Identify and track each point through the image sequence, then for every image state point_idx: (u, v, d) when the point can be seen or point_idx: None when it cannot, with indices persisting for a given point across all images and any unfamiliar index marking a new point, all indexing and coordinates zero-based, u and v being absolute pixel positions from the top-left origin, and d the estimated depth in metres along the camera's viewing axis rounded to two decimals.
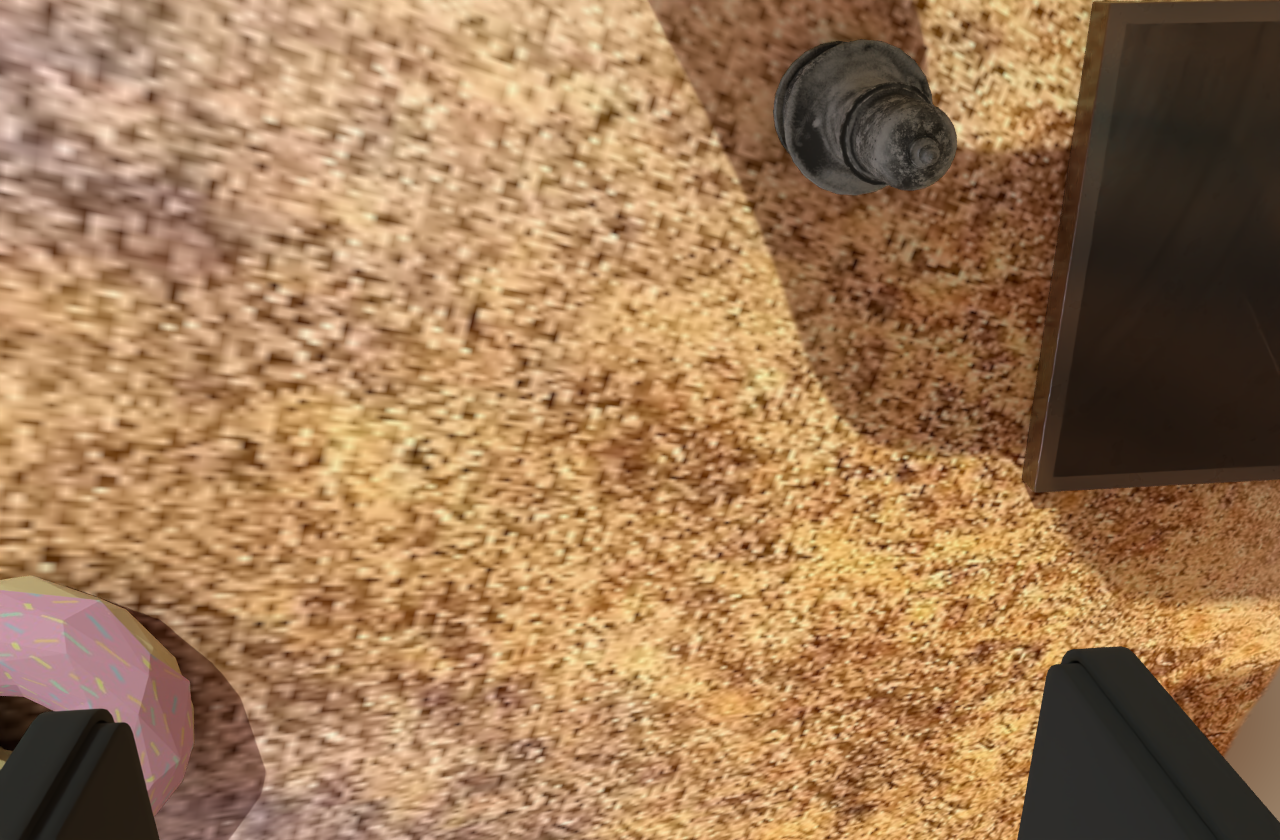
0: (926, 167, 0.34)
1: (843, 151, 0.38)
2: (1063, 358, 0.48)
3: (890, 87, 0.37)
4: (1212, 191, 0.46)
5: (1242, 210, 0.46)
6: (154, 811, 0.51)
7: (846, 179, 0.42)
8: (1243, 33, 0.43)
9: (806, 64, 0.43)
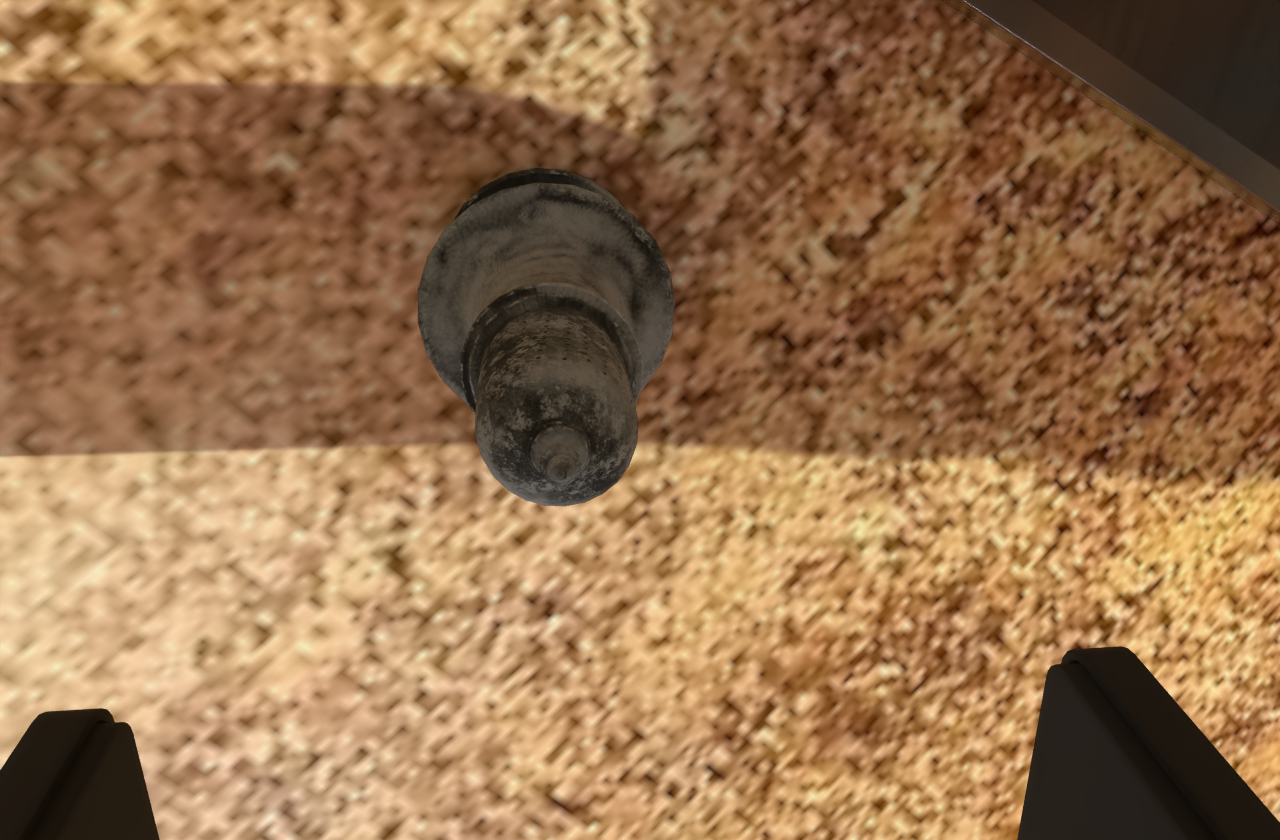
0: (590, 456, 0.17)
1: None
2: (1154, 108, 0.26)
3: (473, 343, 0.20)
4: None
5: None
6: None
7: None
8: None
9: None
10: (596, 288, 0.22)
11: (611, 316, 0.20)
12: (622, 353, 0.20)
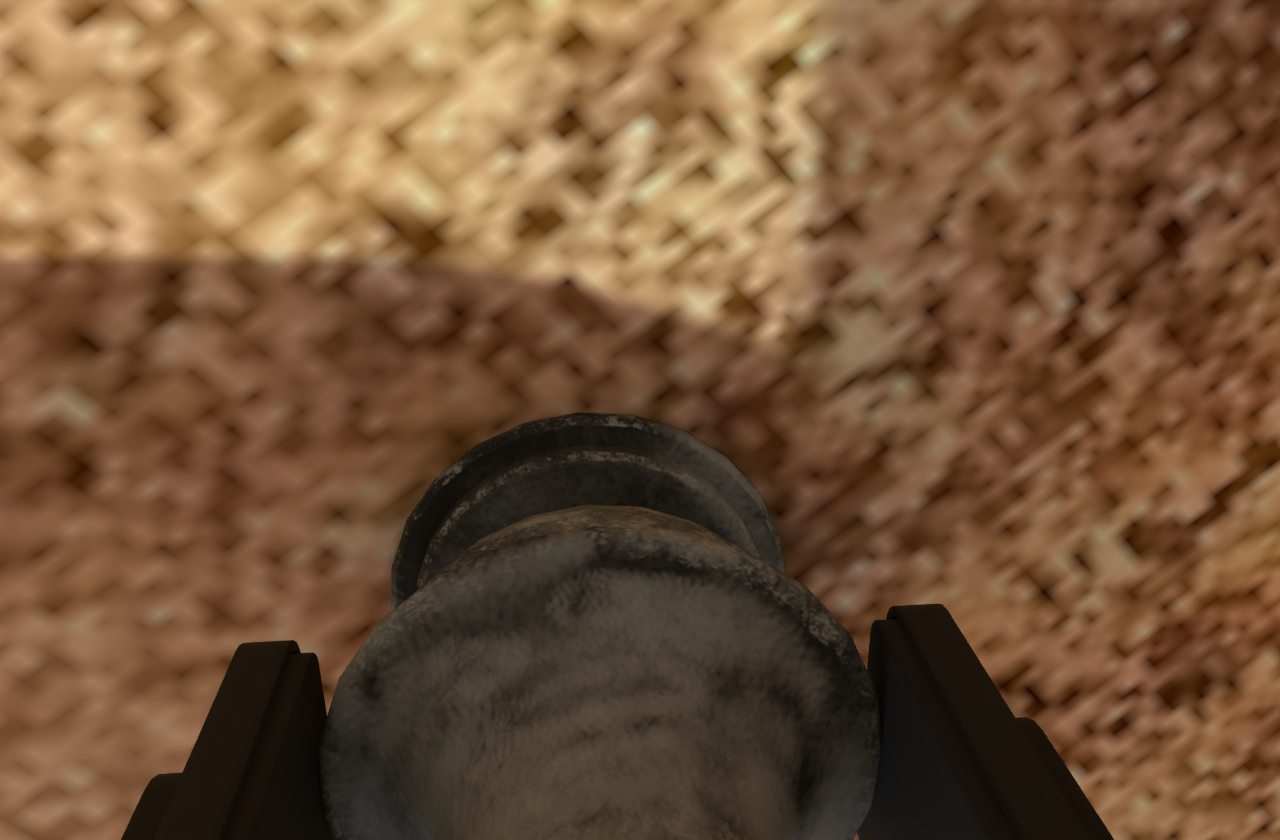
0: None
1: None
2: None
3: None
4: None
5: None
6: None
7: None
8: None
9: None
10: (737, 825, 0.09)
11: None
12: None
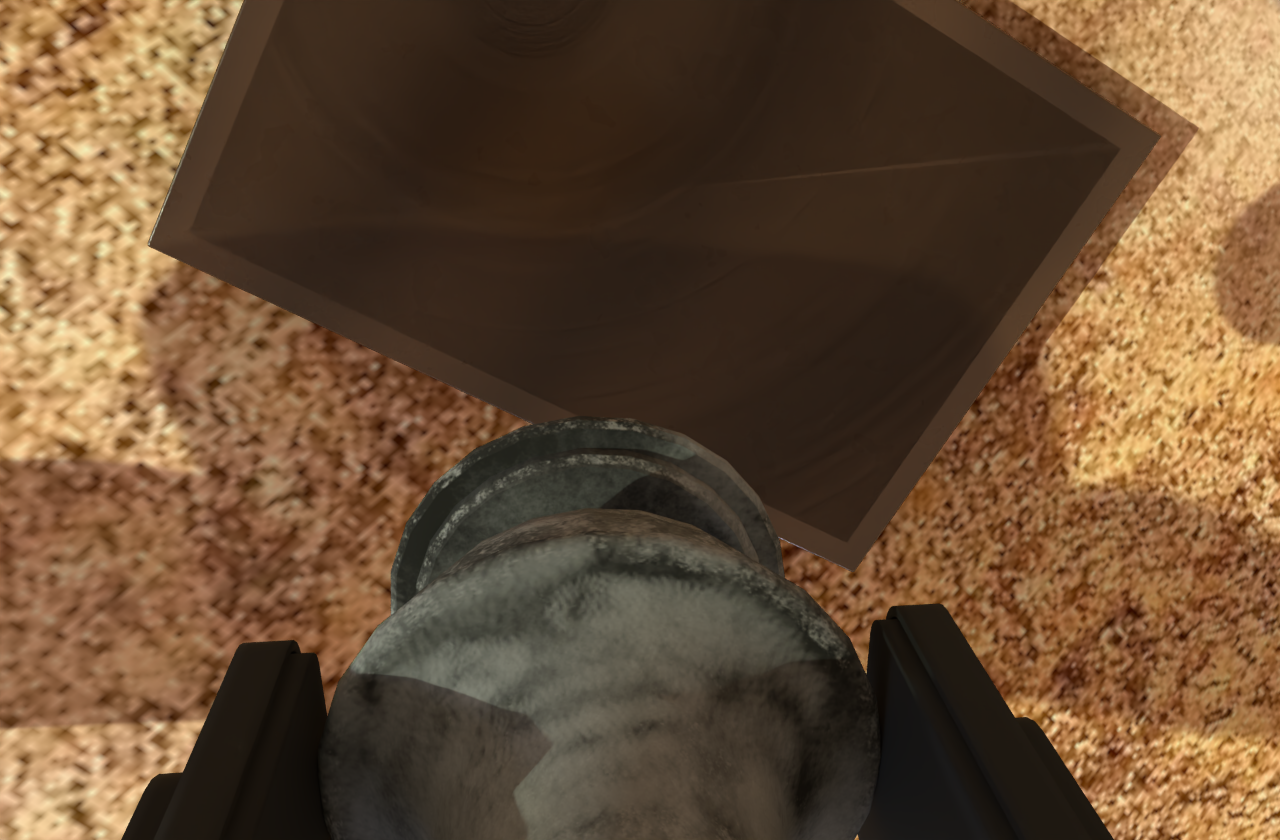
0: None
1: None
2: None
3: None
4: (525, 180, 0.27)
5: (585, 142, 0.27)
6: None
7: None
8: (282, 57, 0.25)
9: None
10: (736, 830, 0.09)
11: None
12: None
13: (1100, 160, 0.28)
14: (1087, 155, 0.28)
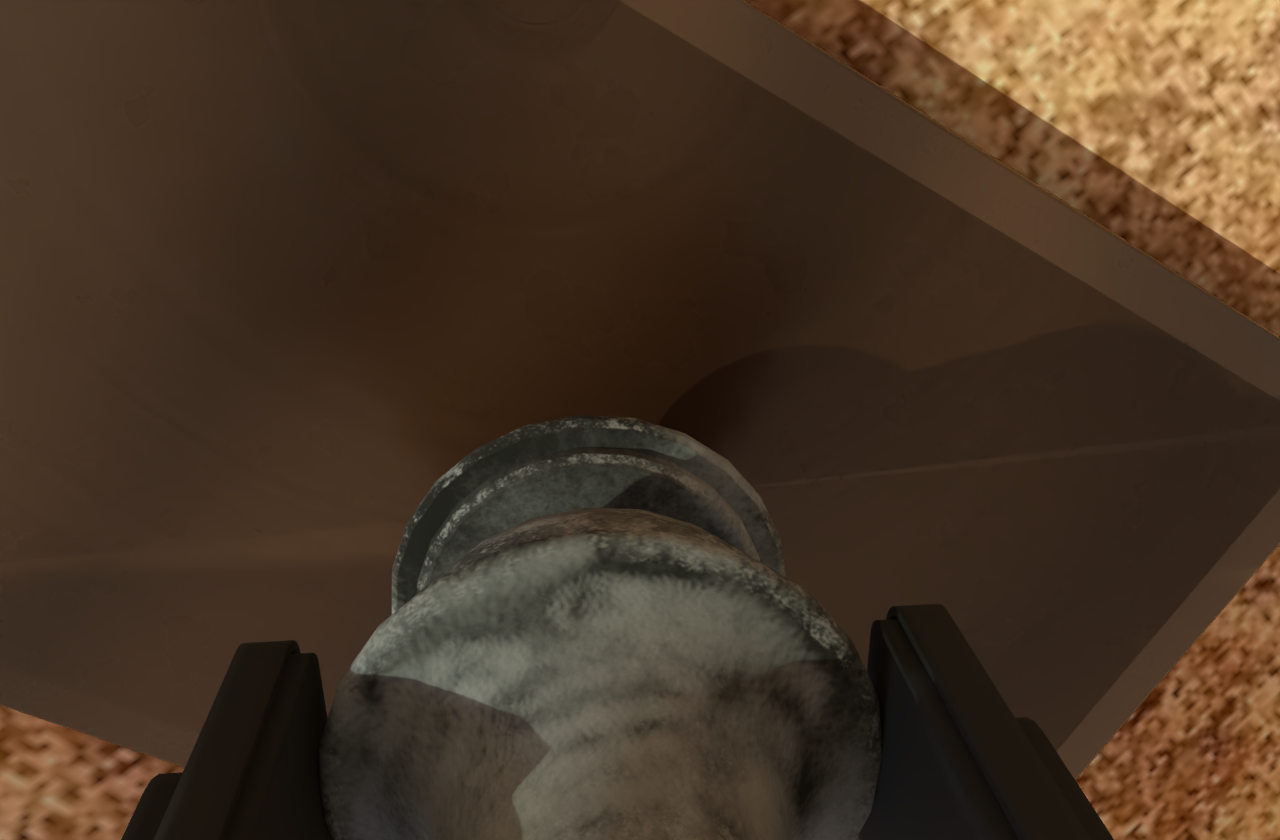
0: None
1: None
2: None
3: None
4: (346, 493, 0.16)
5: (445, 435, 0.16)
6: None
7: None
8: None
9: None
10: (738, 829, 0.09)
11: None
12: None
13: None
14: (1273, 442, 0.17)
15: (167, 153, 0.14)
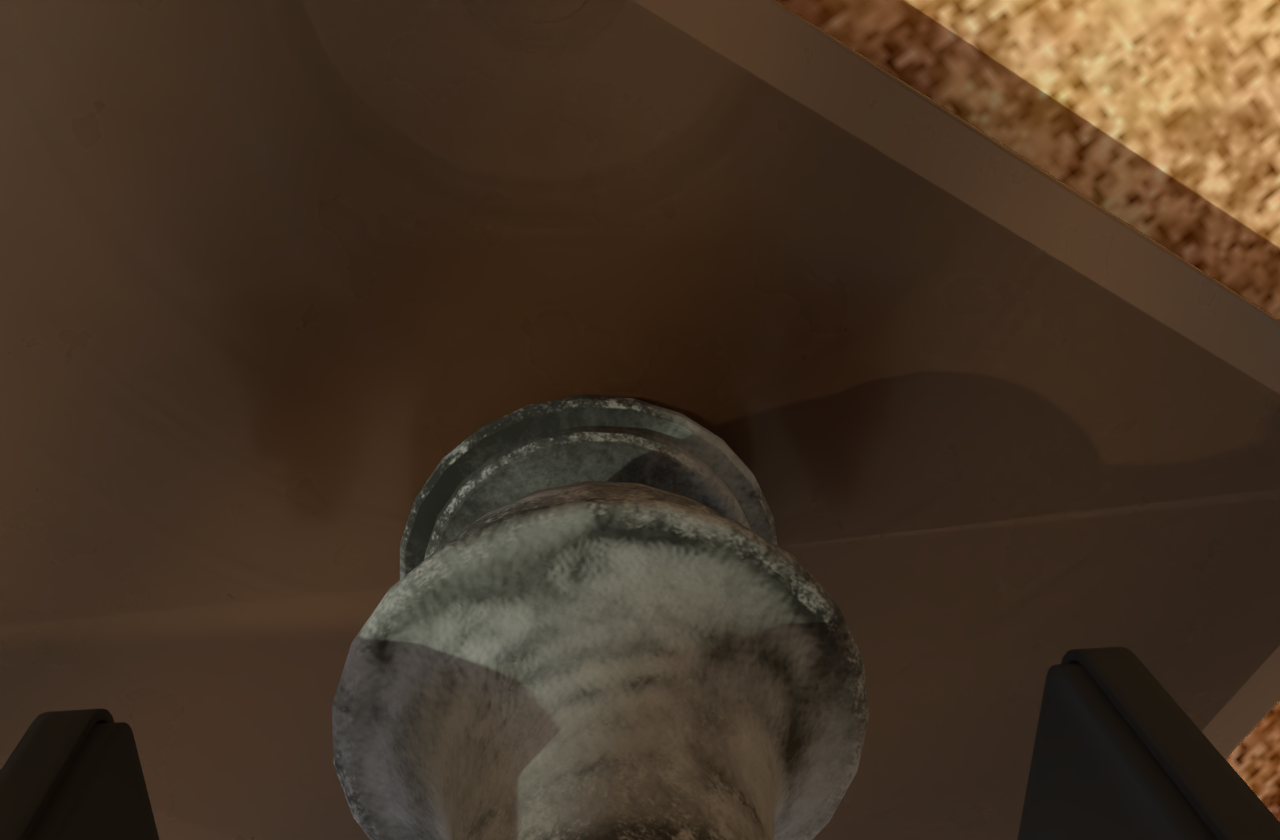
0: None
1: None
2: None
3: None
4: (329, 555, 0.15)
5: None
6: None
7: None
8: None
9: None
10: (728, 777, 0.10)
11: None
12: None
13: None
14: None
15: (121, 178, 0.12)
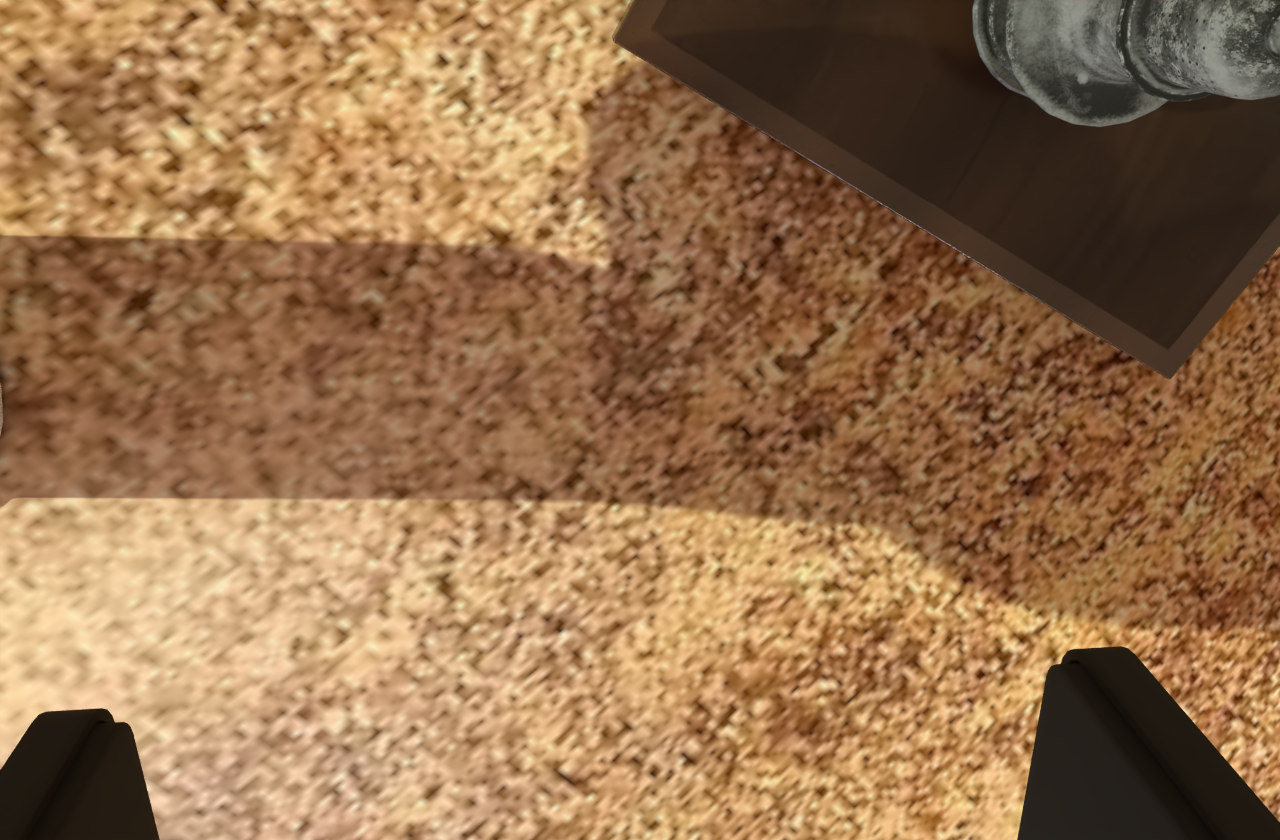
0: None
1: (1165, 97, 0.25)
2: (1020, 275, 0.34)
3: None
4: None
5: None
6: None
7: None
8: None
9: (988, 18, 0.31)
10: None
11: None
12: None
13: None
14: None
15: None
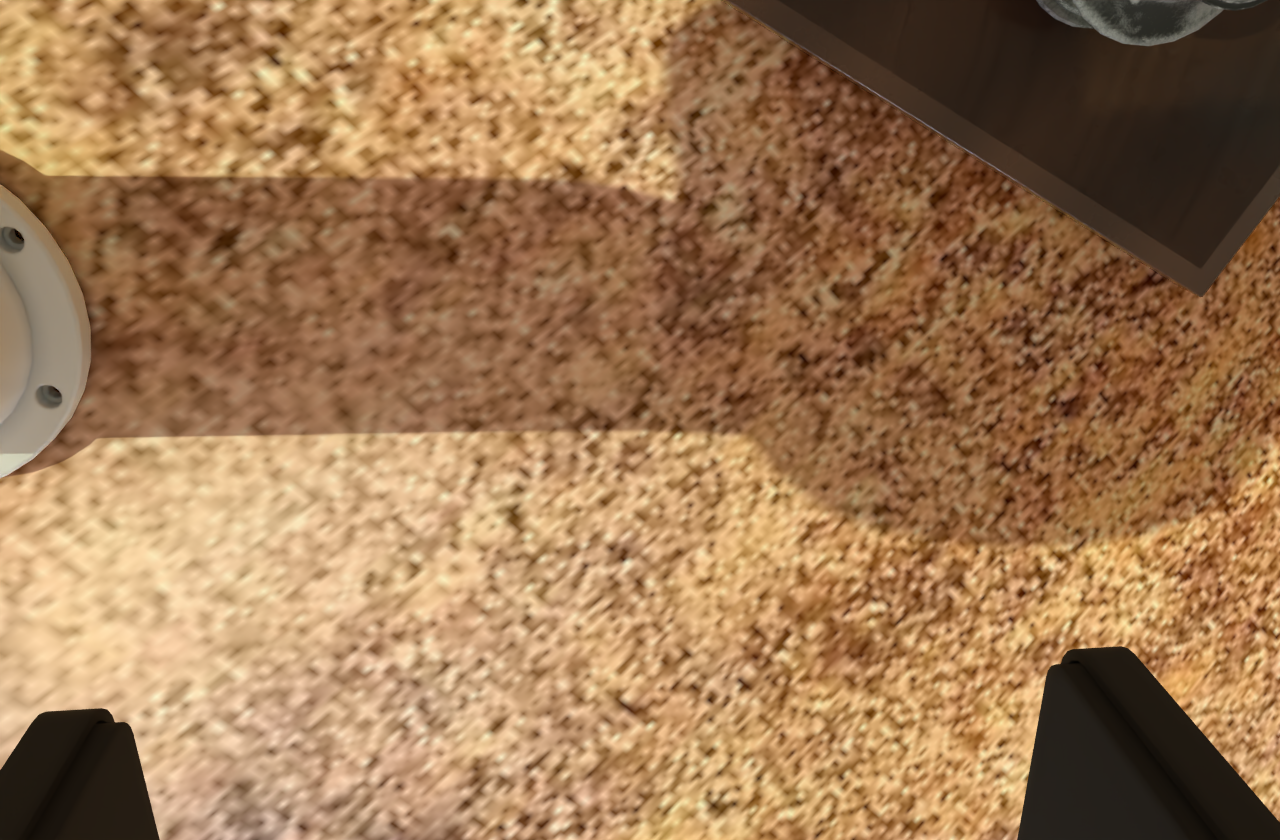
0: None
1: (1221, 5, 0.27)
2: (1065, 198, 0.37)
3: None
4: None
5: None
6: None
7: None
8: None
9: None
10: None
11: None
12: None
13: None
14: None
15: None
